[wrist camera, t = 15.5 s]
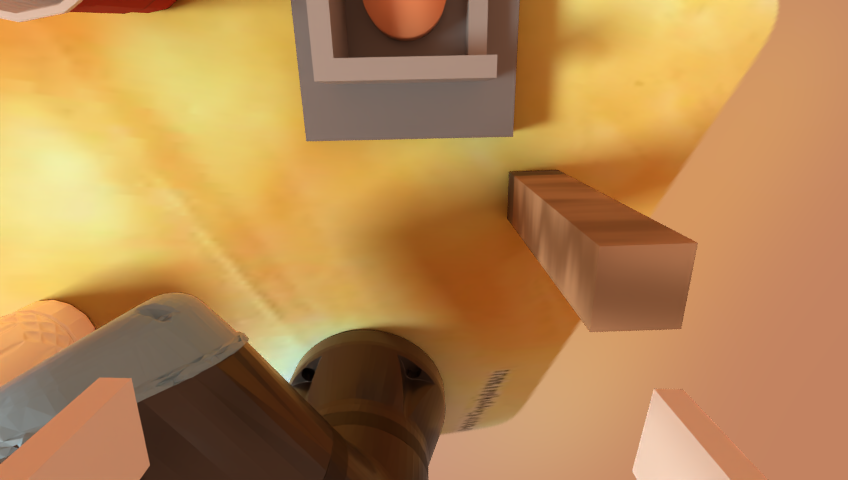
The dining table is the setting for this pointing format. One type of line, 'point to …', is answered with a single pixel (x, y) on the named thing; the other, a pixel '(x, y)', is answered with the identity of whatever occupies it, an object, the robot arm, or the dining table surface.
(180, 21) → the dining table surface
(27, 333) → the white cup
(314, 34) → the switch panel
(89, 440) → the robot arm
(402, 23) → the button
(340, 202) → the dining table surface
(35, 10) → the plastic cup
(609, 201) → the brown wooden block
